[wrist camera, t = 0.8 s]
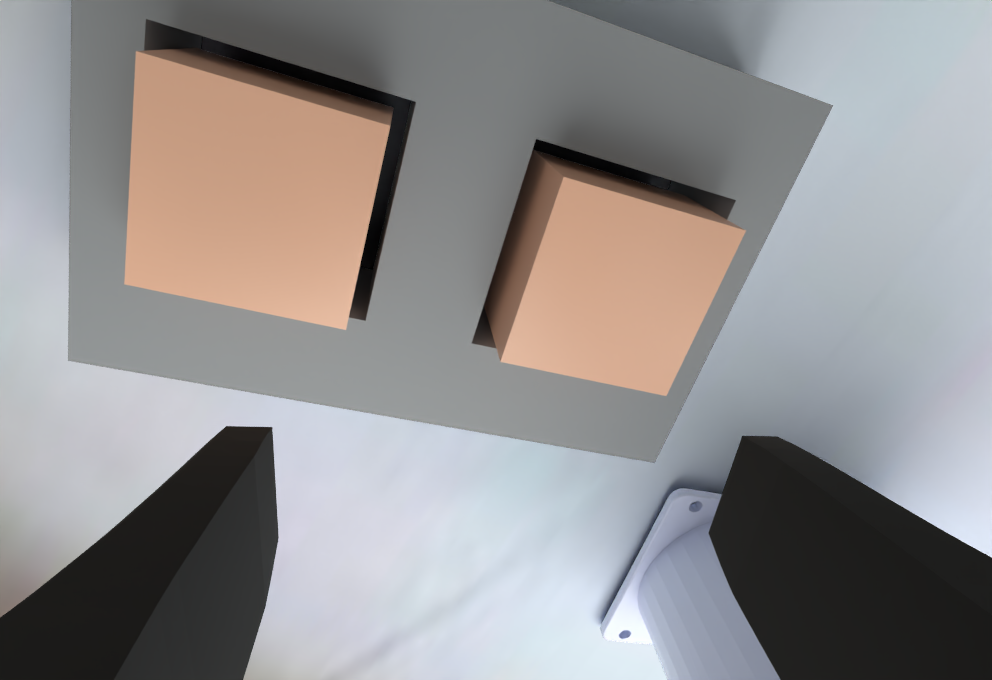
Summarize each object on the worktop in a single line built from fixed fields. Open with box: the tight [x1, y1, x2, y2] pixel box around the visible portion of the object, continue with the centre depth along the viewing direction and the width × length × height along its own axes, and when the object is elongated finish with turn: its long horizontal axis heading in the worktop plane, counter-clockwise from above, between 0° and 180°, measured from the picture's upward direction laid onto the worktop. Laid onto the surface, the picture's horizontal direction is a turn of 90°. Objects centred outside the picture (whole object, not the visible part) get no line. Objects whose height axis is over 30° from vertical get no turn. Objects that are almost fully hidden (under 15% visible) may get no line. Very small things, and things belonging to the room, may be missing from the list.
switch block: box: [68, 0, 833, 463], centre depth 15 cm, size 15×10×4 cm, turn 73°
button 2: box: [484, 150, 746, 396], centre depth 14 cm, size 4×4×3 cm
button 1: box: [124, 48, 394, 330], centre depth 13 cm, size 4×4×3 cm
